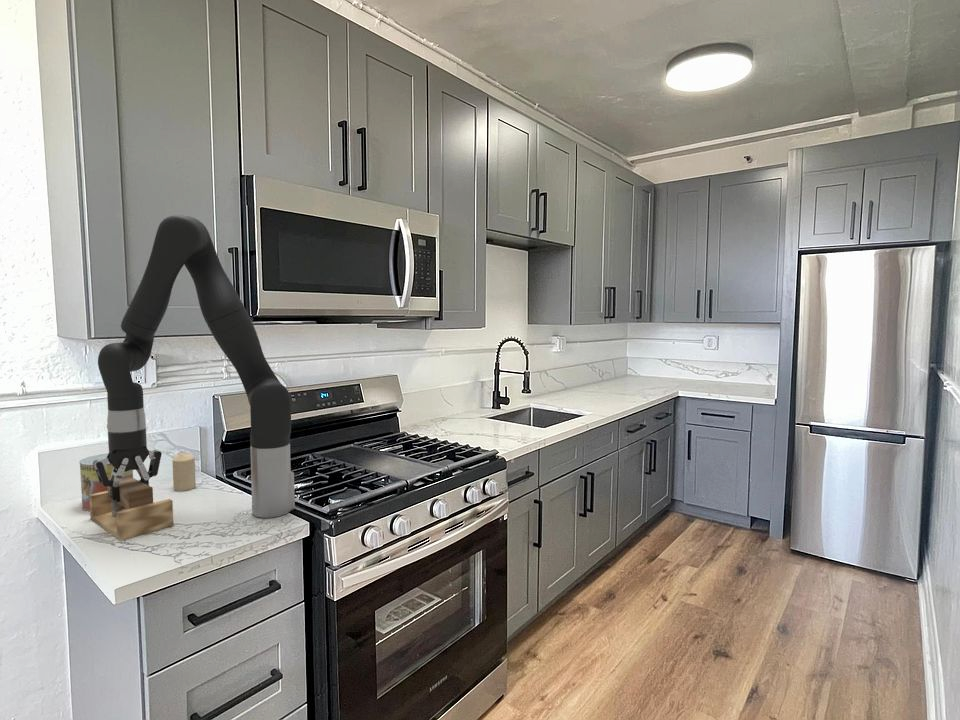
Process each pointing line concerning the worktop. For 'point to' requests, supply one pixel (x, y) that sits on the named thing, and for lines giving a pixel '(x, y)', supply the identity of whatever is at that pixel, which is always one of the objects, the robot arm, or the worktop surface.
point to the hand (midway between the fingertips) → (130, 497)
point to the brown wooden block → (133, 493)
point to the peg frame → (129, 516)
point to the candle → (184, 472)
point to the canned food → (94, 478)
